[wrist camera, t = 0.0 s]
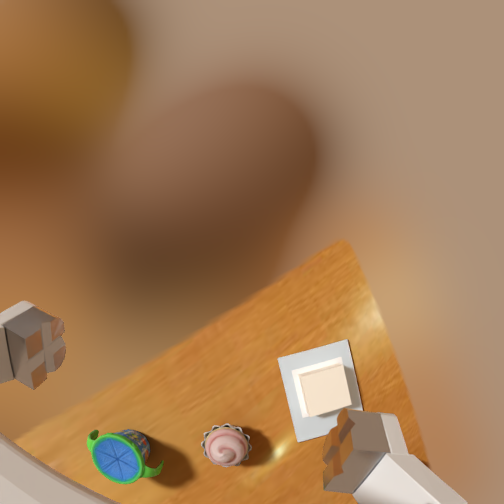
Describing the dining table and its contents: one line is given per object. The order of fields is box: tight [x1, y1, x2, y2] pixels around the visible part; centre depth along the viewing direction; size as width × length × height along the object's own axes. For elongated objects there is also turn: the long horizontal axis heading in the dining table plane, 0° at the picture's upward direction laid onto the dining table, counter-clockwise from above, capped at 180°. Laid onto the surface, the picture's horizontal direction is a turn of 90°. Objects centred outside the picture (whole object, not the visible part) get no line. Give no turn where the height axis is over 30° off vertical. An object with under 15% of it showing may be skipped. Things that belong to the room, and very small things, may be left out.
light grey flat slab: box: [278, 339, 363, 442], centre depth 58 cm, size 18×14×1 cm
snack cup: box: [87, 429, 164, 484], centre depth 50 cm, size 16×10×10 cm
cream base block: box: [298, 363, 352, 417], centre depth 56 cm, size 8×8×4 cm
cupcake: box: [201, 424, 252, 467], centre depth 51 cm, size 9×9×10 cm
